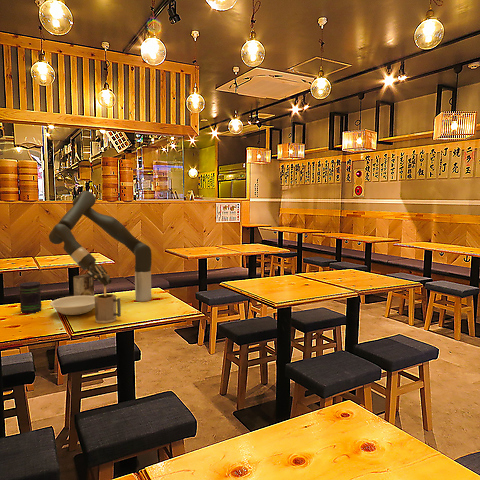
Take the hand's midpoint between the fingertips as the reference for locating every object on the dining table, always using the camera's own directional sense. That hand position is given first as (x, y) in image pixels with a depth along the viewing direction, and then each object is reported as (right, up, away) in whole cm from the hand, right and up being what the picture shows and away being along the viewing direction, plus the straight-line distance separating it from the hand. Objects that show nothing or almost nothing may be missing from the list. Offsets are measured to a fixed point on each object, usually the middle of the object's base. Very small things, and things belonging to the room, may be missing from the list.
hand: (108, 283), depth 187 cm
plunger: (-2, -14, +1) cm, 14 cm away
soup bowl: (-22, -17, +14) cm, 31 cm away
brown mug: (-1, -18, +2) cm, 18 cm away
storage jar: (-47, -17, +17) cm, 52 cm away
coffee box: (-25, -15, +33) cm, 44 cm away
